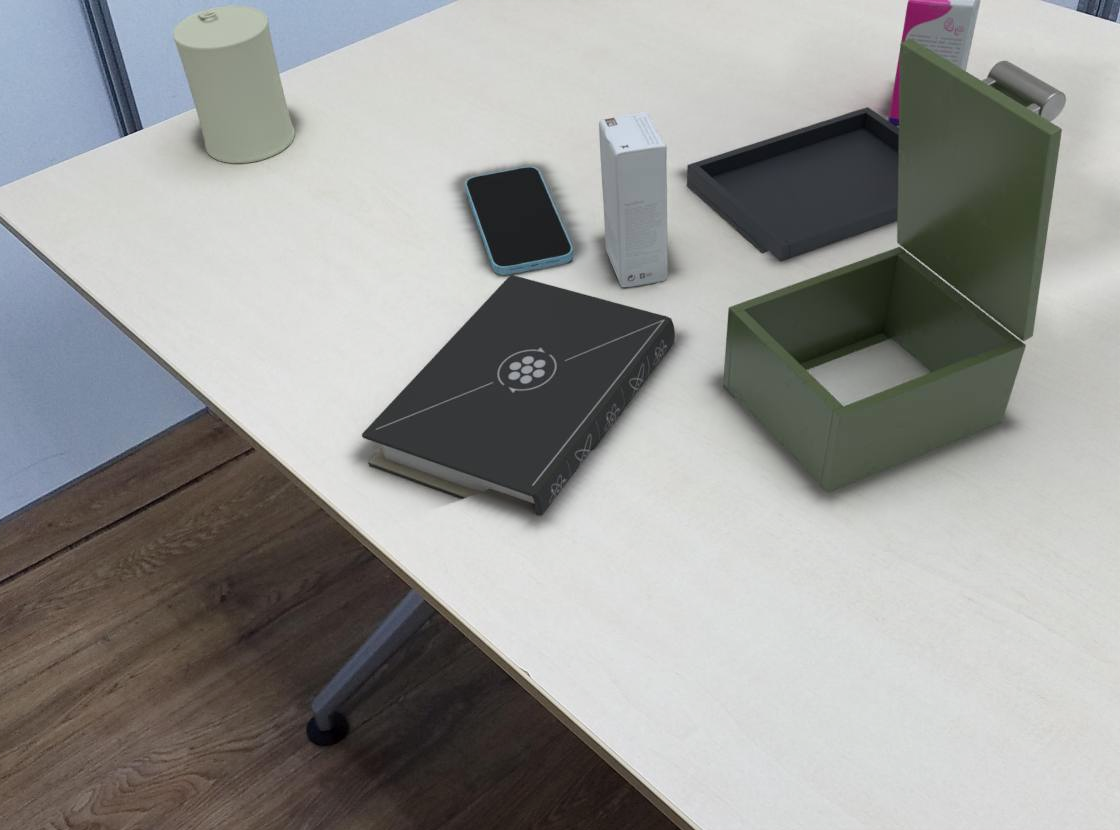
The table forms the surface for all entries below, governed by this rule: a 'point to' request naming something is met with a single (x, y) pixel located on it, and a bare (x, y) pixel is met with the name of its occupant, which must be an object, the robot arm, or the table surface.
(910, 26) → the supplement box
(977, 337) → the green box base
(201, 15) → the can
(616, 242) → the cosmetic box
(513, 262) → the smartphone
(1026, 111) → the lid
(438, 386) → the book
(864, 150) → the tray
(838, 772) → the table surface
